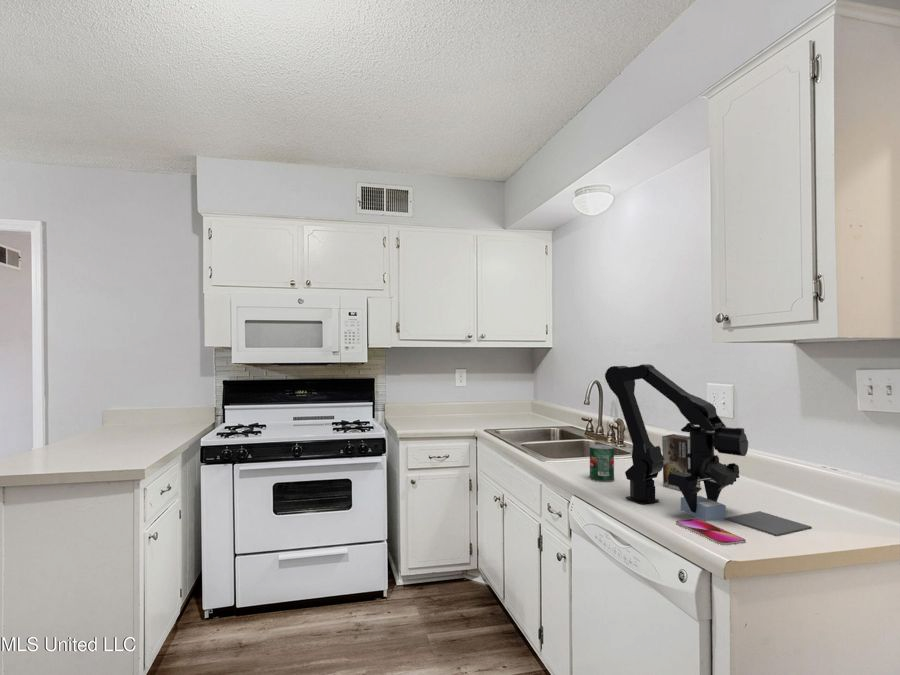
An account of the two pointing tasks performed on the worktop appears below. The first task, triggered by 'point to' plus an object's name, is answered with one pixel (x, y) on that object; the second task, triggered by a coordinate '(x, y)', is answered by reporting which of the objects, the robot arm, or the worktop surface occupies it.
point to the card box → (705, 509)
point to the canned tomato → (602, 463)
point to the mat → (768, 523)
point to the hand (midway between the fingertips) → (702, 510)
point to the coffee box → (675, 456)
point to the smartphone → (710, 532)
